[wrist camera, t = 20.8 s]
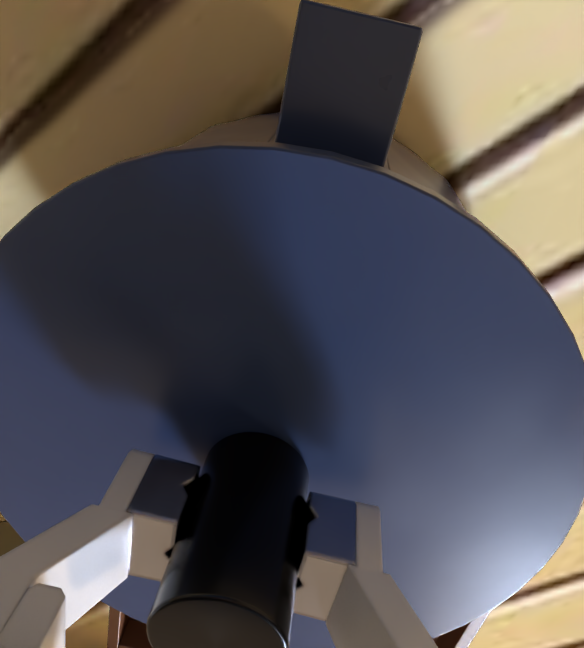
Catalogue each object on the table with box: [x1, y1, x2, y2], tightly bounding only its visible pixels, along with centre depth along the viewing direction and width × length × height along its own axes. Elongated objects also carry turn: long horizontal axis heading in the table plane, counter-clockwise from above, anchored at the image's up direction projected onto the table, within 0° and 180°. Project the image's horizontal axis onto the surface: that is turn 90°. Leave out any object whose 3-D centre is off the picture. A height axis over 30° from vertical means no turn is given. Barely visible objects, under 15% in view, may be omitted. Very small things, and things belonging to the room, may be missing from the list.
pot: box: [181, 0, 466, 211], centre depth 17 cm, size 13×19×7 cm
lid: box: [0, 141, 584, 648], centre depth 11 cm, size 14×14×5 cm
